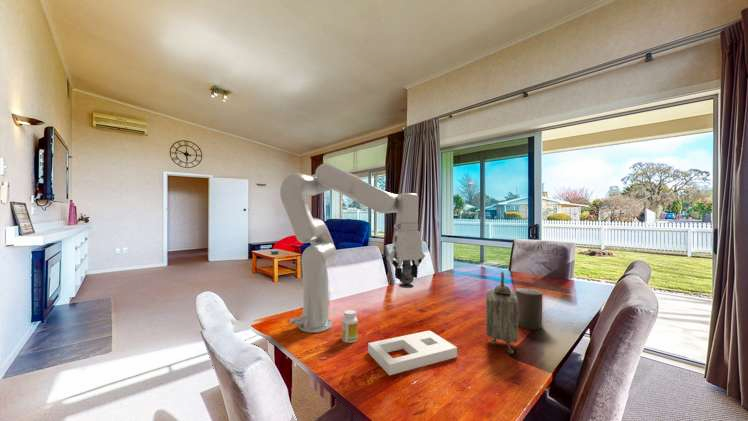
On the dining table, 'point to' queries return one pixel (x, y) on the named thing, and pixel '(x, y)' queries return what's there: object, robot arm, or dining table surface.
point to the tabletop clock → (502, 314)
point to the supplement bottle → (349, 326)
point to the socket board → (411, 351)
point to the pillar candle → (529, 308)
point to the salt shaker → (406, 275)
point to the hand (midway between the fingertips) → (406, 277)
